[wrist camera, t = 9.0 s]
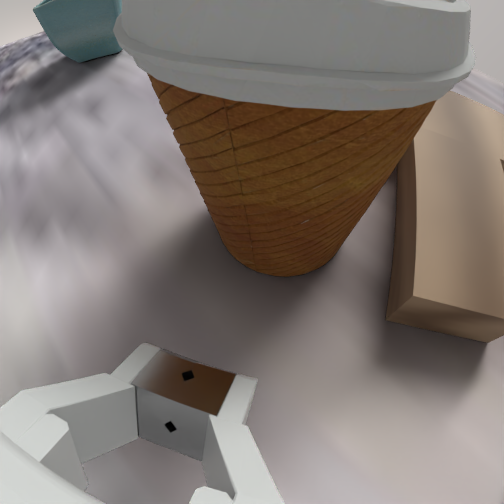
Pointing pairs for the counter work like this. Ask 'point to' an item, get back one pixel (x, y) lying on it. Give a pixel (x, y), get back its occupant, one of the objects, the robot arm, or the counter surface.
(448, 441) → the counter surface
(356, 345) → the counter surface
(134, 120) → the counter surface
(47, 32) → the flower pot
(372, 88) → the disposable coffee cup
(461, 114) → the walnut T block
